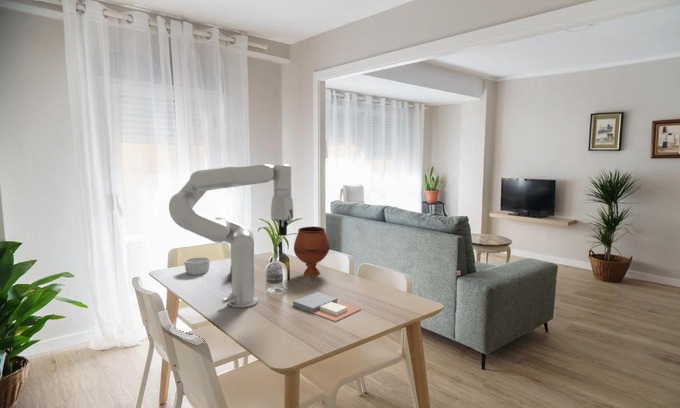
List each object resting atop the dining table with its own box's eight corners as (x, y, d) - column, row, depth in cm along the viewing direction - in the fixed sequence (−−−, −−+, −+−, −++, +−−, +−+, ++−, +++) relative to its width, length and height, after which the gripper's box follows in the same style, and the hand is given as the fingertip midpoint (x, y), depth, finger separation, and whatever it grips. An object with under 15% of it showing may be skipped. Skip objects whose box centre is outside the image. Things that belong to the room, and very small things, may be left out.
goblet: (292, 279, 201) (292, 231, 198) (295, 268, 220) (295, 225, 217) (329, 279, 201) (329, 232, 198) (329, 268, 220) (329, 225, 217)
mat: (335, 322, 148) (335, 321, 148) (313, 313, 156) (313, 312, 156) (360, 309, 160) (360, 309, 160) (338, 302, 168) (338, 301, 168)
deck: (313, 313, 157) (313, 308, 157) (293, 305, 165) (293, 301, 164) (337, 302, 168) (337, 298, 168) (317, 296, 176) (317, 292, 176)
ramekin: (192, 268, 219) (192, 256, 218) (214, 269, 217) (214, 257, 216) (179, 275, 206) (179, 262, 205) (203, 276, 204) (202, 263, 203)
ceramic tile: (336, 315, 153) (336, 312, 153) (319, 309, 159) (319, 306, 159) (347, 310, 159) (347, 307, 159) (331, 305, 164) (331, 301, 164)
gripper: (264, 192, 168) (265, 234, 170) (287, 195, 158) (287, 238, 161) (277, 191, 174) (278, 231, 176) (300, 193, 164) (301, 236, 166)
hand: (282, 235), depth 168 cm, fingers closed
